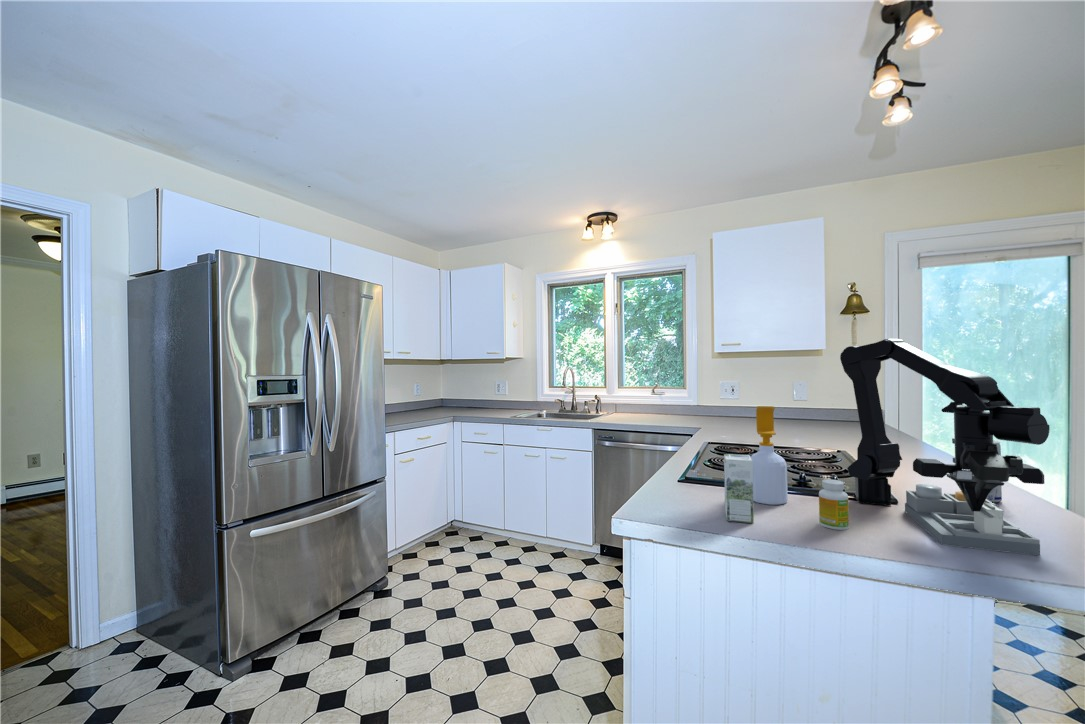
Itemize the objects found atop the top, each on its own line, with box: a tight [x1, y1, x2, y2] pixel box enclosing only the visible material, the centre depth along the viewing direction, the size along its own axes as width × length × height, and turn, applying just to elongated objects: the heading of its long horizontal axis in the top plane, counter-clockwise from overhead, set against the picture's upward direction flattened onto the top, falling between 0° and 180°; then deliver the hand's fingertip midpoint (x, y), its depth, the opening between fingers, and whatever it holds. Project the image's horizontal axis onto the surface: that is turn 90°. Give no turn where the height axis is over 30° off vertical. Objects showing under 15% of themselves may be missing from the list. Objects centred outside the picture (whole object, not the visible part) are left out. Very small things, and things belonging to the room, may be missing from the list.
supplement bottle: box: [818, 478, 850, 531], centre depth 97 cm, size 5×5×10 cm
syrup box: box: [723, 453, 755, 524], centre depth 103 cm, size 6×6×14 cm
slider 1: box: [980, 502, 1004, 526], centre depth 90 cm, size 2×4×4 cm, turn 157°
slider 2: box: [974, 510, 1002, 535], centre depth 86 cm, size 2×4×4 cm, turn 157°
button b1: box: [915, 483, 943, 500], centre depth 100 cm, size 4×4×3 cm
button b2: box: [954, 490, 967, 502], centre depth 97 cm, size 4×4×3 cm
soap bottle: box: [750, 405, 789, 506], centre depth 115 cm, size 9×9×25 cm
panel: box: [904, 489, 1041, 556], centre depth 92 cm, size 14×20×5 cm
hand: (975, 512), depth 91 cm, fingers closed
